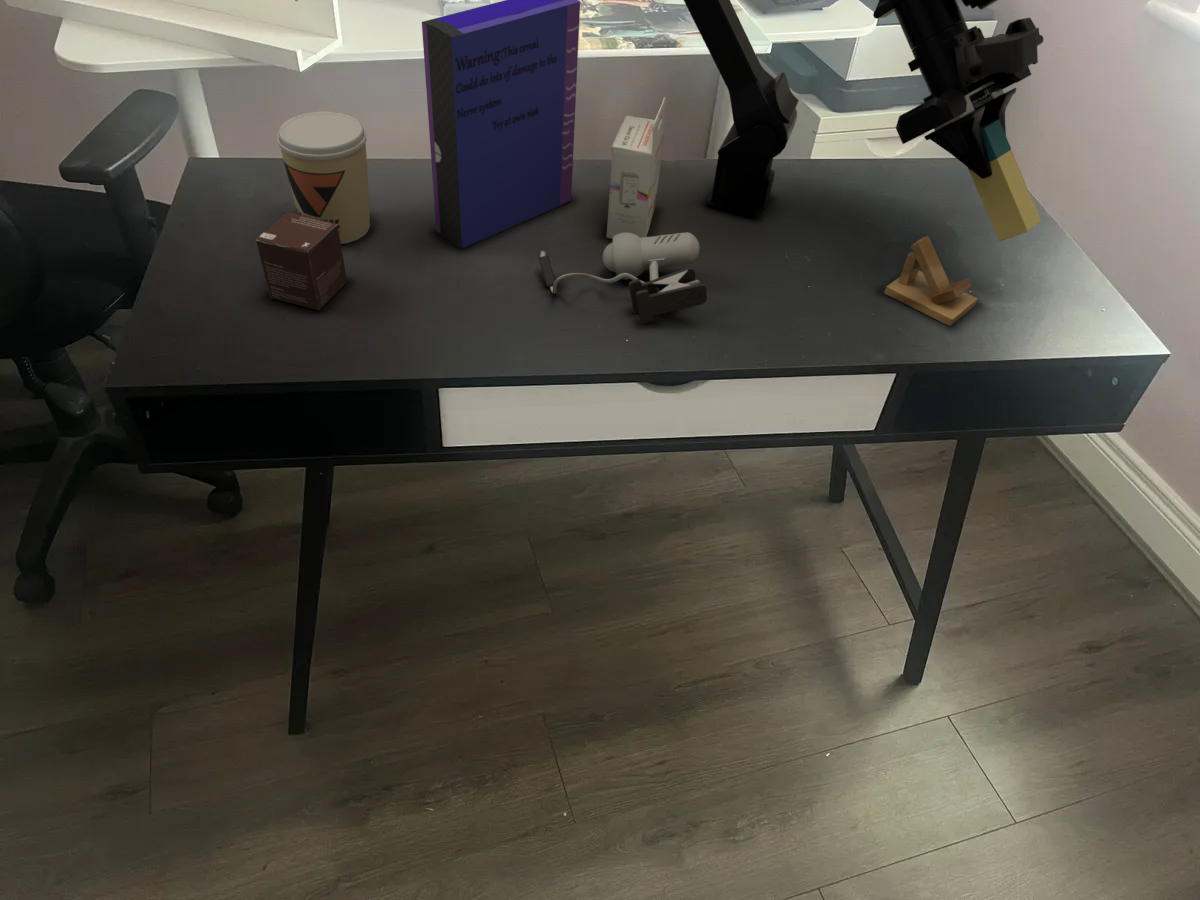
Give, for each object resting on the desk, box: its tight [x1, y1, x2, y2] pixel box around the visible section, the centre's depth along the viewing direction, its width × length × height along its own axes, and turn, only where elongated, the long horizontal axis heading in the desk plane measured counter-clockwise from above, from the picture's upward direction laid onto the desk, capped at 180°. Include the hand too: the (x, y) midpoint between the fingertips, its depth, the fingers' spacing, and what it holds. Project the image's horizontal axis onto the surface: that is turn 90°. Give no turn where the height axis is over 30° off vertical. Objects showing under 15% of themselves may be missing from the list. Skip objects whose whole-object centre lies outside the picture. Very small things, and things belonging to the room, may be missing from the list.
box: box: [255, 211, 348, 311], centre depth 95 cm, size 6×6×7 cm
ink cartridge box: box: [605, 96, 667, 240], centre depth 106 cm, size 9×5×15 cm, turn 168°
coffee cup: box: [276, 111, 371, 245], centre depth 102 cm, size 9×9×12 cm
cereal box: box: [421, 0, 581, 250], centre depth 102 cm, size 17×5×24 cm, turn 135°
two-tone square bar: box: [967, 119, 1042, 242], centre depth 99 cm, size 11×3×11 cm, turn 46°
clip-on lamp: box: [538, 231, 708, 325], centre depth 99 cm, size 12×6×18 cm
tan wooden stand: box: [884, 235, 978, 327], centre depth 101 cm, size 8×6×6 cm
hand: (995, 171), depth 98 cm, fingers closed on two-tone square bar, 3 cm apart
